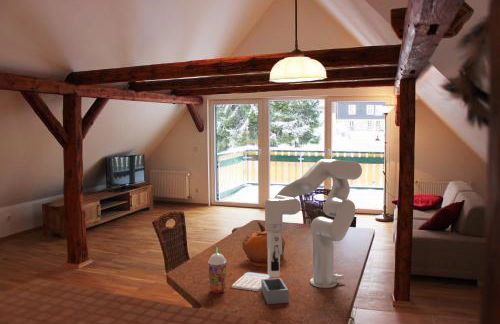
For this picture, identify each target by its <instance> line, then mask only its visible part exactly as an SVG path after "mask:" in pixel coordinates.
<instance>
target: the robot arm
mask: <svg viewBox="0 0 500 324" xmlns="http://www.w3.org/2000/svg"><path fill="white" fill-rule="evenodd" d="M362 173H363V168H362V165H361V164H360V163H359V162H357V161H354V160H353V161H351V160H341V159H332V158H331V159H330V158H322V159H319V160H317V161H316V162H315V163H314V164H313V165H312V166H311V167H310V168H309V169H308V170H307V171H306V172H305V173H304V175H302V176H301V177H300V178H298V179H296V180H294V181H293V182H290V183H289V184H287V185H285V186H283V188H282V189H281V190H279V192H278V193H276V195H275V196H274V197H270V198H269V197H268V198H267V199H265V203H264V227H265V231H267V249H268V248H269V249H270V254H271V255H272V262H271V270H272V271H279V254H280V255H282V237H283V236H282V237H281V235H282V232H283V229H284V228H283V225H284V223H283V219H284V218H283V215H284V216H285V215H287V216H288V215H289V216H291V215H292V216H293V215H296V214H298V213H299V212H300V210H301V209H302V205H301V202H300V200H299V199H297V197H299V196H302V195H306V194H310V193H311V194H312V193H314V192H316V191H317V189H318V188H319V187H320V186H321V185H322V183H324V181H326V180H327V179H328V178H330V179H331V181H332V186H331V189H330V191H329V193H328V195H327V197H326V199H325V201H324V204H323V208H322V210H323V211H322V212H323V213H324V214H325V215H326V216H328V217H326V216H317V217H315V218H314V219H312V221H311V224H310V231H311V236H312V246H313V247H312V248H313V250H312V252H313V253H312V260H313V261H312V262H313V263H312V268H313V269H312V271H313V272H312V274H313V275H312V276H313V277H312V278H310V280H309V284H310V285H311V286H314V287H316V288H320V289H329V288H334V287H336V286H337V285H338V280H344V279H345V275H344V274H339V273H334V272H335V270H334V268H335V267H334V266H335V261H334V260H335V258H334V257H335V255H334V252H335V247H334V243H333V242H341V241H342V240H344V238H345V237H346V235H347V233H348V231H349V228H350V227H351V224H352V222H353V220H354V217H355V215H356V205H355V203H354V202H353V201H352V200H351V199H348V198H349V196H350V195H349V194H350V190H351V188H350V184H349V181H354V180H357V179H359V178H360V177H361V175H362ZM330 217H332V218H330ZM278 251H279V254H278ZM273 253H275V254H273ZM274 256H275V257H274Z"/></svg>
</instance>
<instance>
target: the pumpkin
mask: <svg viewBox="0 0 500 324" xmlns="http://www.w3.org/2000/svg"><path fill="white" fill-rule="evenodd" d="M256 222H257V225H258V226H259V229H260V230H259V231H256V232H251V233H250V234H249V235H247V236H245V237H244V239H243V240H242V243H241V244H242V250H243V252H244V254H245V255H246V258H247V262H248V263H249V264H251V265H252V264H253V266H256V267H257V266H258V267H265V268H268V249H267V231H265V225H263V224H262V223H261V222H260V221H258V220H257V221H256ZM281 237H282V255H280V266H281V265H283V264H285V263H286V261H287V259H286V257H285V255H284V252H285V245H286V242H285V239H284V236H283V235H282V234H281Z"/></svg>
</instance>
